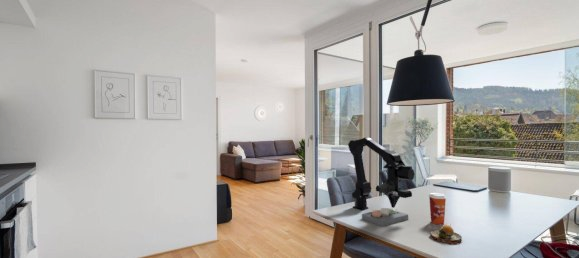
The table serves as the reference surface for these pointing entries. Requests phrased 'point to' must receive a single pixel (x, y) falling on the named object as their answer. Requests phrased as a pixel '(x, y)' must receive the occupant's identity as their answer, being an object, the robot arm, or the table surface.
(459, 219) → the table surface
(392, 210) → the sage button
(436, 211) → the paper cup
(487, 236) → the table surface
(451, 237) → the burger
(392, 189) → the robot arm
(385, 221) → the grey flat board
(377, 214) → the pink button
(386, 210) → the cream button
